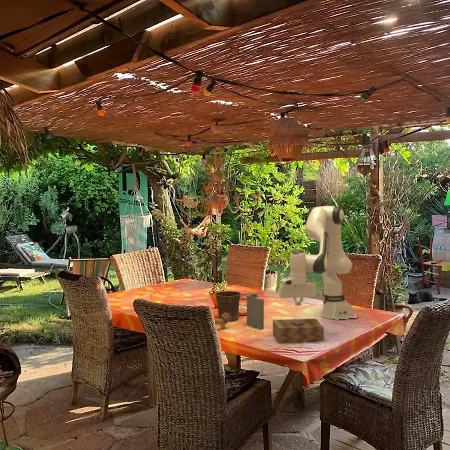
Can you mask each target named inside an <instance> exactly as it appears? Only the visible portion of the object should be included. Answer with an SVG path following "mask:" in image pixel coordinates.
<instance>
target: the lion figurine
mask: <svg viewBox="0 0 450 450" xmlns="http://www.w3.org/2000/svg"><path fill="white" fill-rule="evenodd" d="M213 319H214V320H215V326H220V329H222V328H223V329H222V330H224V329H226V325H227V324H228V322H229V321H228V320H229V315H228V313H224V314H223V315H222V316H221V318H220V319H219V318H213Z"/></svg>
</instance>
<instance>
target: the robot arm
mask: <svg viewBox="0 0 450 450" xmlns="http://www.w3.org/2000/svg"><path fill="white" fill-rule="evenodd" d="M344 212H345V211H344V209H343V208H342V207H341V206H338V205H334V206H333V205H323V206H311V208H309V209H308V210H307V215H306V216H307V220H306V223H305V226H304V231H305V233H306V235H307V236H308V237H309V238H310V239H312V240H314V241H317V242H318V243H319V253H318V254H309V253H308V254H307V253H306V251H305V250H304V249H293V250H292V251H291V252H290V256H289V269H290V272H289V276H287V277H283V278H281V280H280V281H281V284H280V285H279V290H278V291H279V292H278V294H279V295H278V296H279V297H280V298H281V299H291V298H292V299H293V301H294V305H295V306H297V307H299V306H302V302H303V301H304V298H315V297H317V296H318V289H317V287H318V282H317V280H315V279H307V273H314V274H319V275H321V277H322V281H323V293H322V305H323V306H322V309H321V314H320V316H321V317H322V318H324V319H329V320H333V319H335V320H334V321H340V320H339V319H346V318H353V317H355V315H356V313H355V309H354V307H353V306H352V305H351V304H350V303H349V302H347V300H348V296H347V295H344V294H342V293H343V291H342V290H343V283H342V281H341V279H340V278H339V277H338V275H337V274H339V275H342V274H343V275H345V274H348V273H350V272H351V271H352V267H353V262H352V260H351V259H350V258H349V257H348V256H347V254H346V253H345V251H344V247H343V244H342V231H341V223H342V222H343V221H344V219H345V213H344ZM298 298H299V301H297V299H298ZM346 320H347V319H346Z"/></svg>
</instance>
